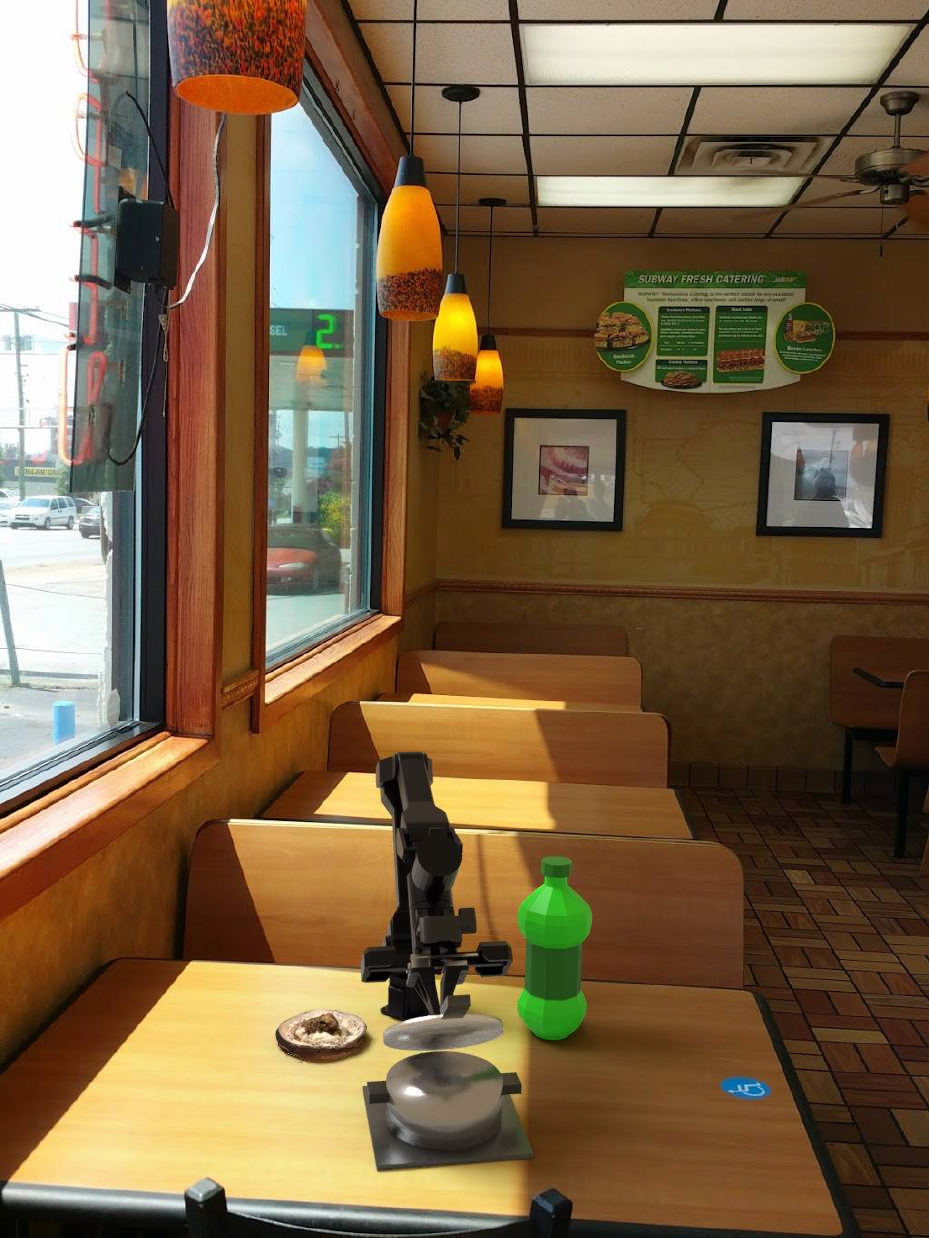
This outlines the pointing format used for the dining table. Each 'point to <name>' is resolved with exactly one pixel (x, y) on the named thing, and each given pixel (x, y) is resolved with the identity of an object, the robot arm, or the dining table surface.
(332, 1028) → the bowl of rice
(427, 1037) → the cooker lid
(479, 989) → the dining table surface
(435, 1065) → the cooker pot
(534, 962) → the plastic bottle
